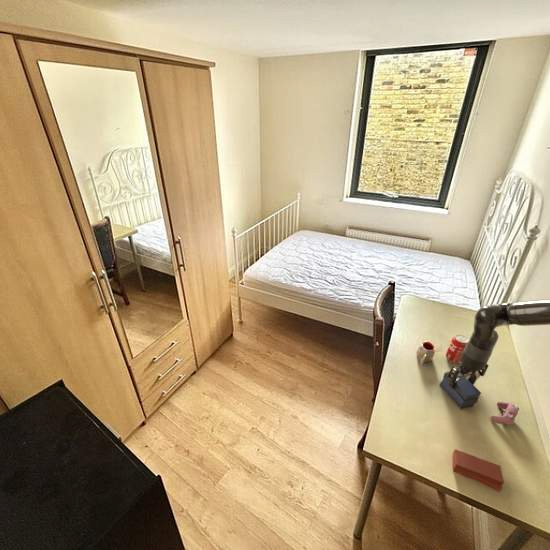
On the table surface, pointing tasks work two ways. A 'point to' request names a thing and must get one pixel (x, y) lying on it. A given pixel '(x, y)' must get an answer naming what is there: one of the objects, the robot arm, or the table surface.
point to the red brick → (478, 469)
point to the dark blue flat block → (465, 388)
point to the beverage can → (456, 348)
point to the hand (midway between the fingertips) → (461, 385)
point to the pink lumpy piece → (506, 413)
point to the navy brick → (457, 396)
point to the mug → (426, 352)
